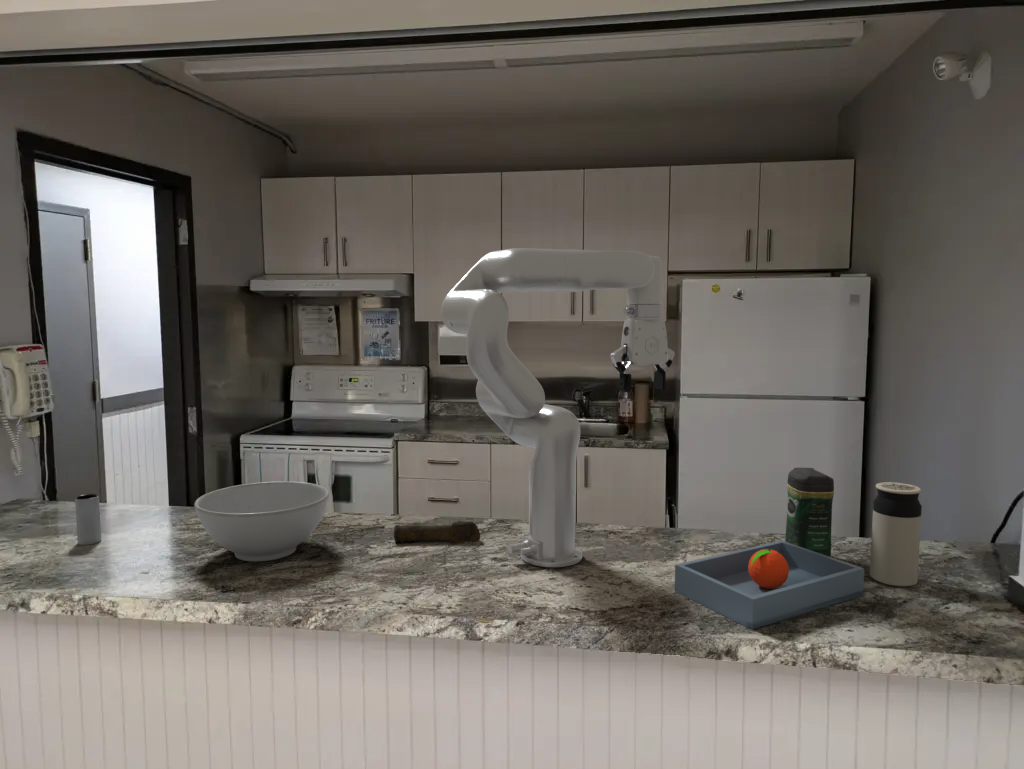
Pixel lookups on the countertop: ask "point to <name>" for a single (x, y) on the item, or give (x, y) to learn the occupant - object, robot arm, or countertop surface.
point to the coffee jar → (809, 510)
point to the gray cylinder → (88, 519)
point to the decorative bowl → (262, 517)
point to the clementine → (768, 568)
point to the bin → (753, 606)
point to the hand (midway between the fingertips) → (642, 390)
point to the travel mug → (896, 534)
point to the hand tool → (438, 532)
